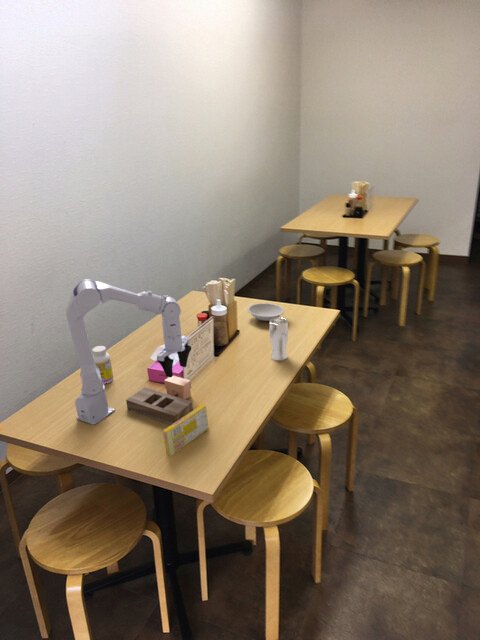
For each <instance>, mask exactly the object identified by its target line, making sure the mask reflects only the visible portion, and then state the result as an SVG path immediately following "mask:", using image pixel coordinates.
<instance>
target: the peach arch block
mask: <svg viewBox="0 0 480 640" xmlns="http://www.w3.org/2000/svg"><path fill="white" fill-rule="evenodd" d="M164 388H165V390H166V394H169V395H172V396H175V397H176V395H178V398H182V399H185V400H188V398H190V397H191V396H192V393H191V389H192V381H191V379H187V378H183V377H180V376H177V375H172V377H167V378H165V379H164Z"/></svg>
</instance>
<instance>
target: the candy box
mask: <svg viewBox="0 0 480 640" xmlns="http://www.w3.org/2000/svg"><path fill="white" fill-rule="evenodd" d="M209 429H210V428H209V420H208V414H207V406H206V405H204V404H201V405H199V406H197V407H196V408H195V409H194V408H193V411H191V412H190V413H189V414H187V415H185V416H184V417H182V418H181V419H179V420H178V421H176V422H175V423H173V424H170V425H169V426H167V427H166V428H164V429H162V432H163V440H164V445H165V452H166V455H168V456H169V457H172V456H173V455H174V454H175V453H177V452H179V451H180V450H181V449H183V448H184V447H185V446H187V445H188V444H190V443H191V442H193V441H194V440H195V439H197V438H198V437H200V436H202V434H204V433H205V432H207V431H208V430H209Z"/></svg>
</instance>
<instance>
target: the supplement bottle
mask: <svg viewBox="0 0 480 640" xmlns="http://www.w3.org/2000/svg"><path fill="white" fill-rule="evenodd" d="M91 350H92V354H93V358H94V362H95V365H96V366H97V367H98V368H99V369H100V372H101V374H100V375H101V379H102V382H103V384H104V385H107V384H109V383H111V382H113V380H114V374H113V368H112V360H111V355H110V353H108V352H107V347H106V346H104V345H96V346H94V347H93V348H91ZM106 383H107V384H106Z"/></svg>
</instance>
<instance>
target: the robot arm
mask: <svg viewBox="0 0 480 640" xmlns="http://www.w3.org/2000/svg"><path fill="white" fill-rule="evenodd" d="M71 292H72V293H71V296H70V298H69V301H68V303H67V306H66V309H65V315H66V316H65V317H66V318H67V323H68V326H69V331H70V335H71V337H72V341H73V345H74V348H75V353H76V356H77V360H78V363H79V367H80V374H79V376H80V379H81V389H80V390H81V392H80V394H79V396H78V397H77V398H76V399H75V402H74V403H75V408H76V414H77V415H76V416H75V417H76V419H77V420H80V421H82V422H85V423H87V424H89V425H93V426H94V425H96V424H97V423H99V422H101V420H103V419H105V418H106V417H107V416H109V415H110V414H112V413H114V412H115V408H112V407H109V404H108V397H107V392H106V387H105V384H103V382H102V379H101V375H100V374H101V372H100V369H99V368H98V367H97V366H96V365H95V362H94V358H93V355H94V354H93V352H92V348H91V344H90V343H91V342H90V339H89V336H88V332H87V327H86V324H85V319H84V317H85V316H86V314H88V313H89V312H90V311H92V310H93V309H95V308H97V306H98V305H100V303H101V304H102V305H103V304H105V303H107V302H109V301H110V300H112V301H117V302H121V303H128V304H133V305H136V307H137V309H138V310H141V311H145V312H149V313H152V314H155V315H161V325H162V326H161V327H162V333H163V342H164V346H163V348H162V349H161V351H160V352H159V353H157V355H156V356H157V357H156V361H157V362H158V363H159V364H160V366H161V367H162V369H163V371H164V374H165V377H167V378H168V377H172V375H173V367H174V366H173V365H174V361H175V359H173V358H171V357H170V355H174V354H177V356H178V363H179V366H180V367H183V368H187V365H188V360H189V355H190V352H191V351H192V345H190V344H191V342H190V337H186V336H185V337H183V336H182V328H181V327H182V326H181V320H180V315H181V313H182V309H181V308H180V305H179V304H178V302H177V300H176V299H175V298H174V297H173V296H170V295H158V294H155V293H153V291H152V290H147V291H142V292H139V293H136V292H133V291H130V290H127V289H123V288H119V287H117V286H114V285H111V284H107V283H104V282H102V281H98V280H95V281H94V280H92V279H89V278H88V279H87V278H86V279H82V280H80V281H79V282H78V283H77V284H76V285H75V286H74V287H73V289H72V291H71ZM173 376H174V375H173Z"/></svg>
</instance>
